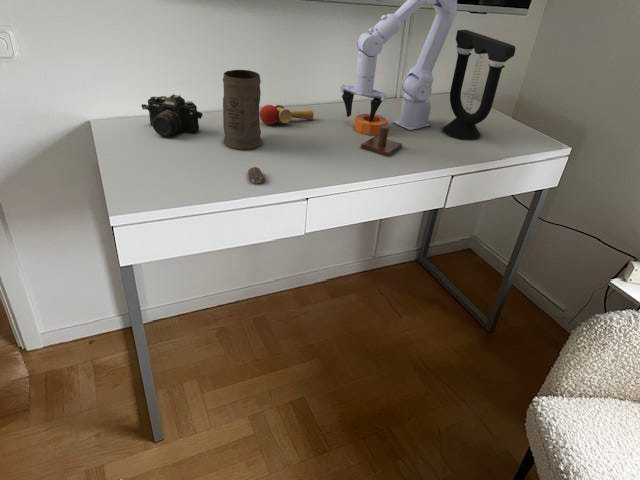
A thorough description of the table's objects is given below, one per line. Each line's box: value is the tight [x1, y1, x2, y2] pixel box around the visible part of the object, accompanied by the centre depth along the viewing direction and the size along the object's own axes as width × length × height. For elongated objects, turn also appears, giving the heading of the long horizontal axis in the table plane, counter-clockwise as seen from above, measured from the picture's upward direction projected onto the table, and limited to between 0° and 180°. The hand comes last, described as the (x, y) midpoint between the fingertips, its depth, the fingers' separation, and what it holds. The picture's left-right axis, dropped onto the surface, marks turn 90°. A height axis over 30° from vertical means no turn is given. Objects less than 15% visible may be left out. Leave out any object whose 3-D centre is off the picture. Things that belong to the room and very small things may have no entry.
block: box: [247, 166, 266, 185], centre depth 124 cm, size 4×6×2 cm, turn 19°
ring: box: [353, 113, 388, 136], centre depth 159 cm, size 10×10×3 cm
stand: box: [360, 125, 403, 157], centre depth 146 cm, size 9×9×6 cm
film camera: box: [140, 93, 203, 138], centre depth 143 cm, size 18×12×10 cm
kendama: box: [259, 104, 314, 126], centre depth 158 cm, size 8×6×18 cm
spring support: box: [442, 29, 516, 141], centre depth 154 cm, size 21×12×30 cm, turn 29°
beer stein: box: [222, 69, 262, 151], centre depth 139 cm, size 15×11×20 cm
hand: (359, 118), depth 159 cm, fingers open, 7 cm apart
